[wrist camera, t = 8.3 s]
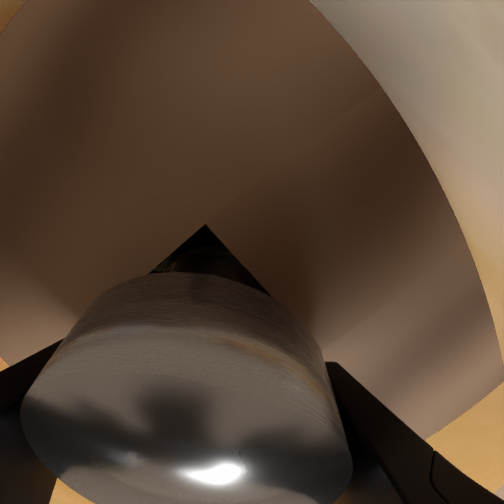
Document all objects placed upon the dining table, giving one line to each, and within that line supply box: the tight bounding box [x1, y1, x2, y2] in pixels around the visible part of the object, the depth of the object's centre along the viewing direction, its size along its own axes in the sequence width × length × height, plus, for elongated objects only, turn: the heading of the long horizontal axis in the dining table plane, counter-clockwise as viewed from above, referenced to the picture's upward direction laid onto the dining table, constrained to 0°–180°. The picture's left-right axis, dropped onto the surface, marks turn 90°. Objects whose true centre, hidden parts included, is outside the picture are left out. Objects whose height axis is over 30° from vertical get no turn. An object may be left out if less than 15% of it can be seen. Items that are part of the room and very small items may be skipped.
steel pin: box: [20, 246, 353, 504], centre depth 7 cm, size 6×6×7 cm
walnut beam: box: [0, 0, 504, 440], centre depth 10 cm, size 20×14×5 cm
